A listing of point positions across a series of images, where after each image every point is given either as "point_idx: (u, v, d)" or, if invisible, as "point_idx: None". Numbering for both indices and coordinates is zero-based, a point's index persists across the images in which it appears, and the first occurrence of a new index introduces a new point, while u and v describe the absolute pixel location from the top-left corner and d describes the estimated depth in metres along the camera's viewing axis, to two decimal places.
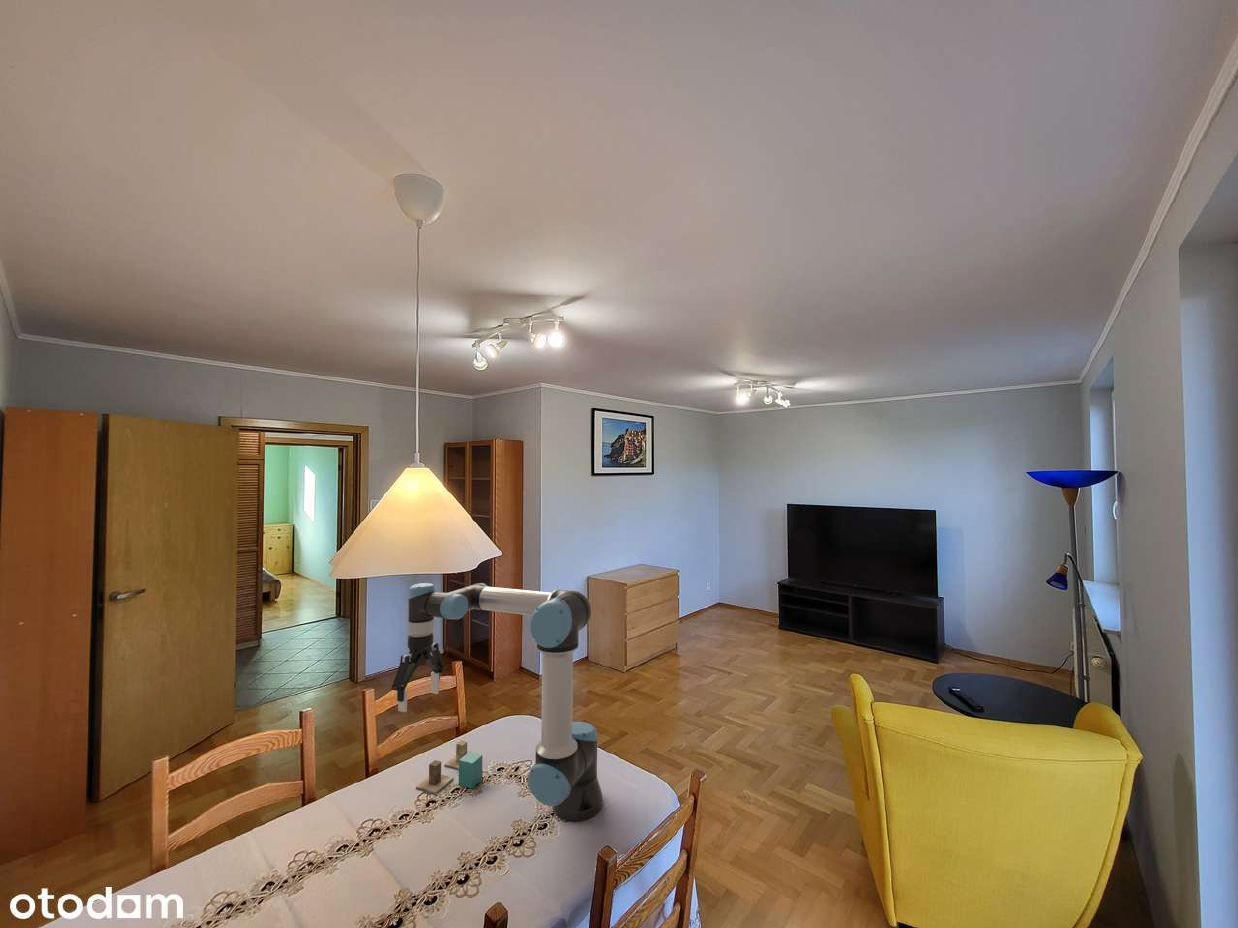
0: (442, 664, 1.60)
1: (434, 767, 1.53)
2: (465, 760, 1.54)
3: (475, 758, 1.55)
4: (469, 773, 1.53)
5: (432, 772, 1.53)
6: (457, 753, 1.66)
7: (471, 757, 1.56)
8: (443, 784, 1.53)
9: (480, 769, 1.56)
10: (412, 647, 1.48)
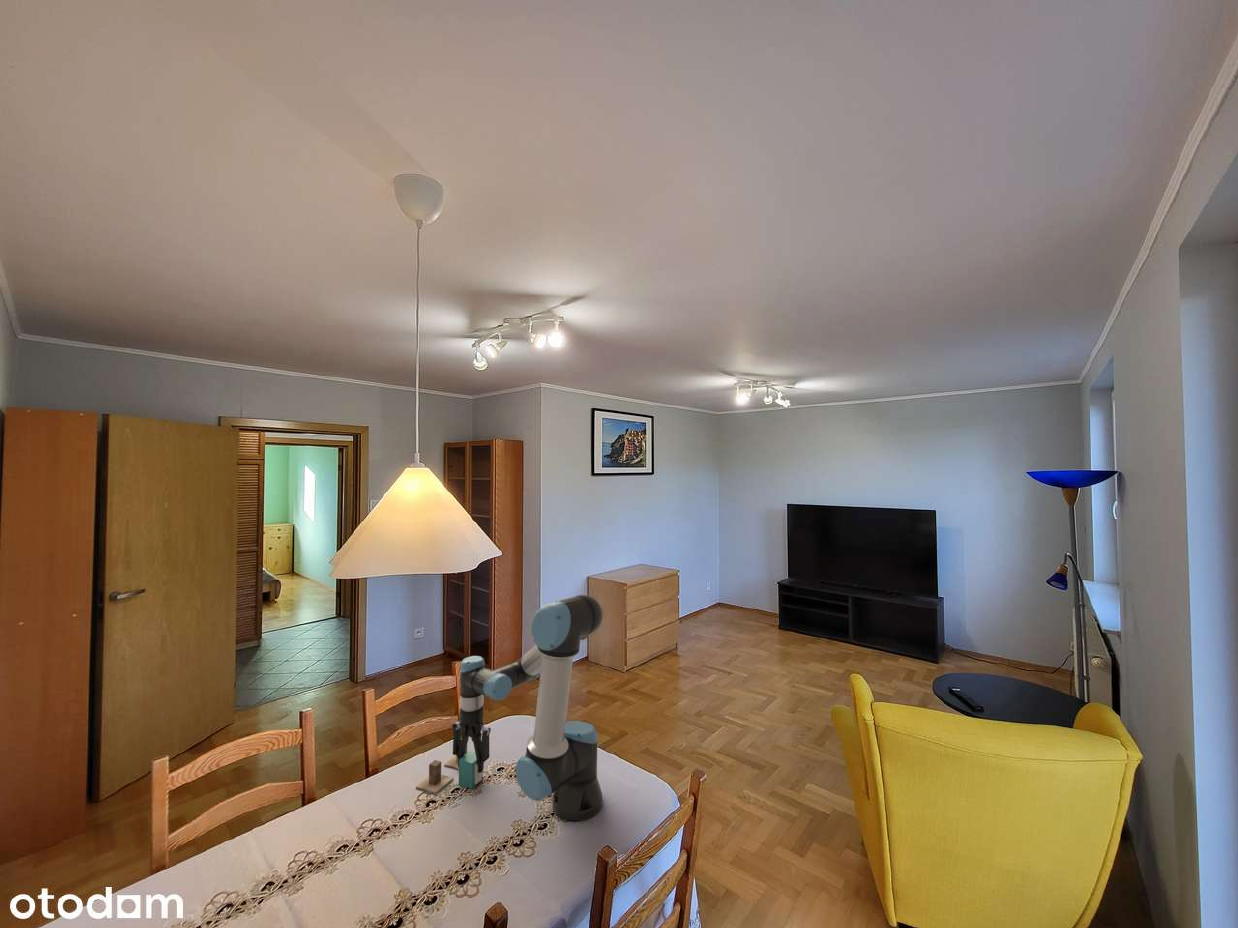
0: (482, 757, 1.53)
1: (434, 767, 1.53)
2: (465, 760, 1.54)
3: (475, 758, 1.55)
4: (469, 773, 1.53)
5: (432, 772, 1.53)
6: None
7: (471, 757, 1.56)
8: (443, 784, 1.53)
9: None
10: None
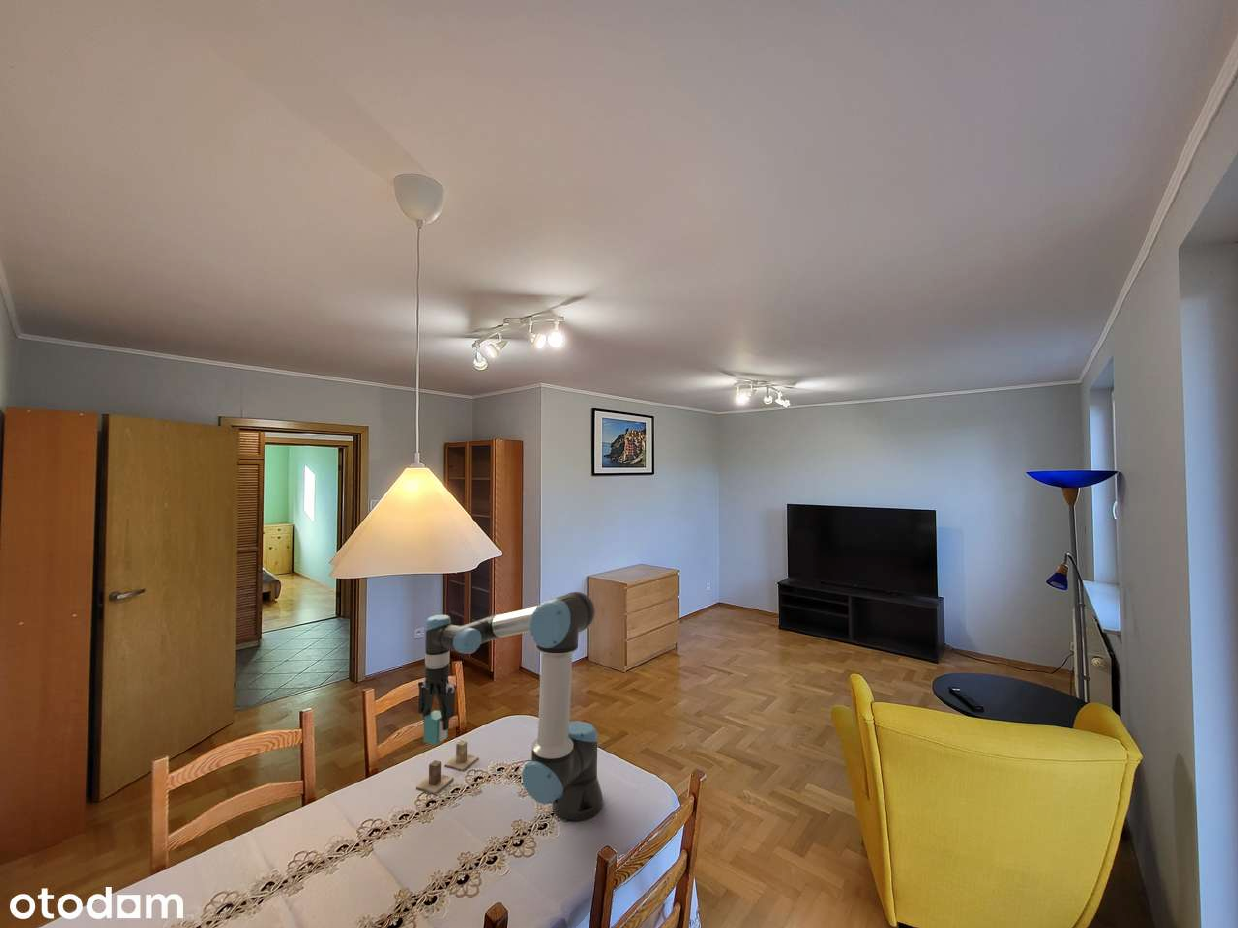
0: (447, 714, 1.52)
1: (434, 767, 1.53)
2: (430, 717, 1.53)
3: (440, 716, 1.55)
4: (434, 730, 1.52)
5: (432, 772, 1.53)
6: (457, 753, 1.66)
7: (436, 715, 1.55)
8: (443, 784, 1.53)
9: None
10: None
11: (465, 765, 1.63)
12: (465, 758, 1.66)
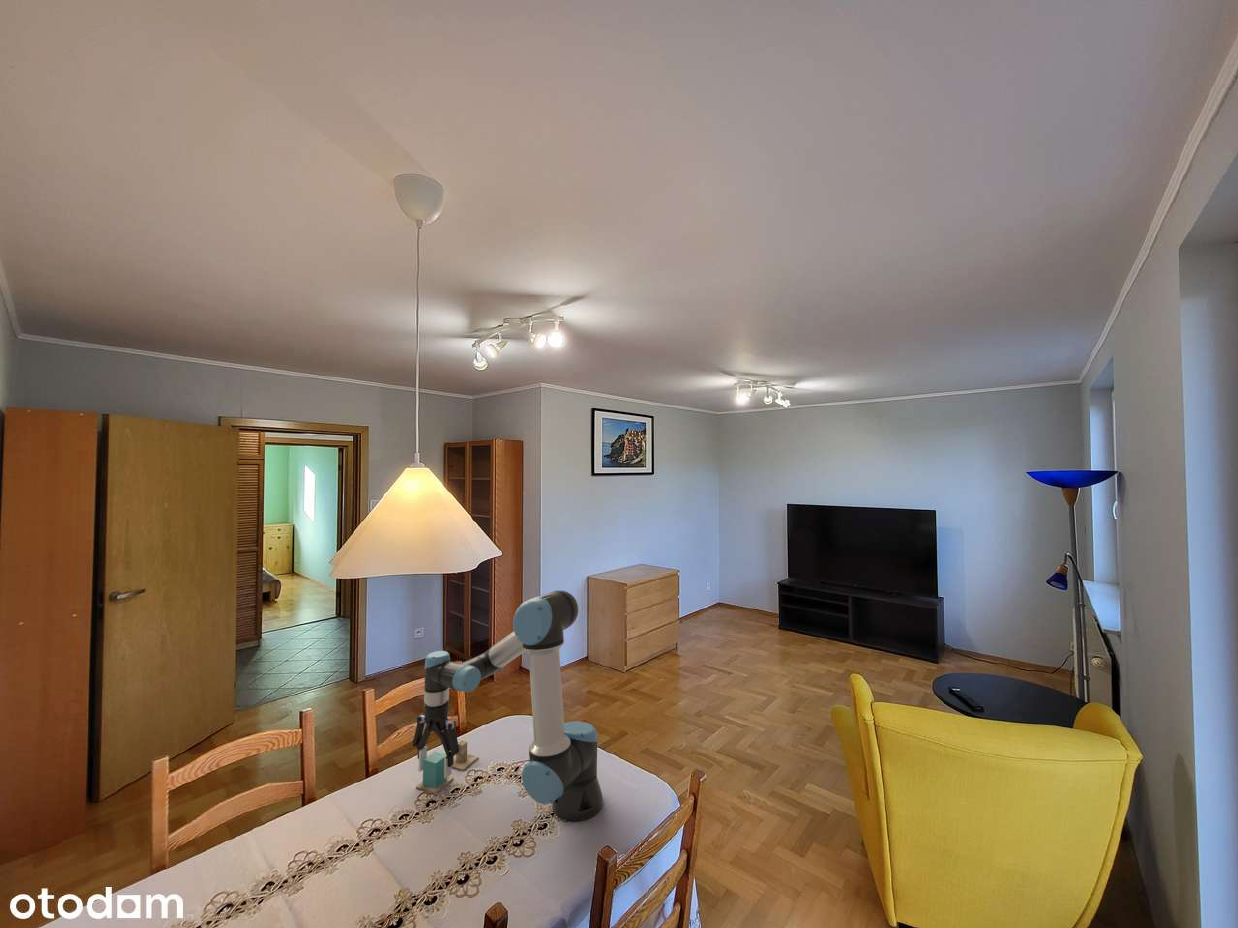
0: (451, 751, 1.51)
1: None
2: (429, 760, 1.53)
3: (440, 758, 1.54)
4: (433, 773, 1.51)
5: None
6: (457, 753, 1.66)
7: (436, 757, 1.55)
8: (443, 784, 1.53)
9: None
10: None
11: (465, 765, 1.63)
12: (465, 758, 1.66)
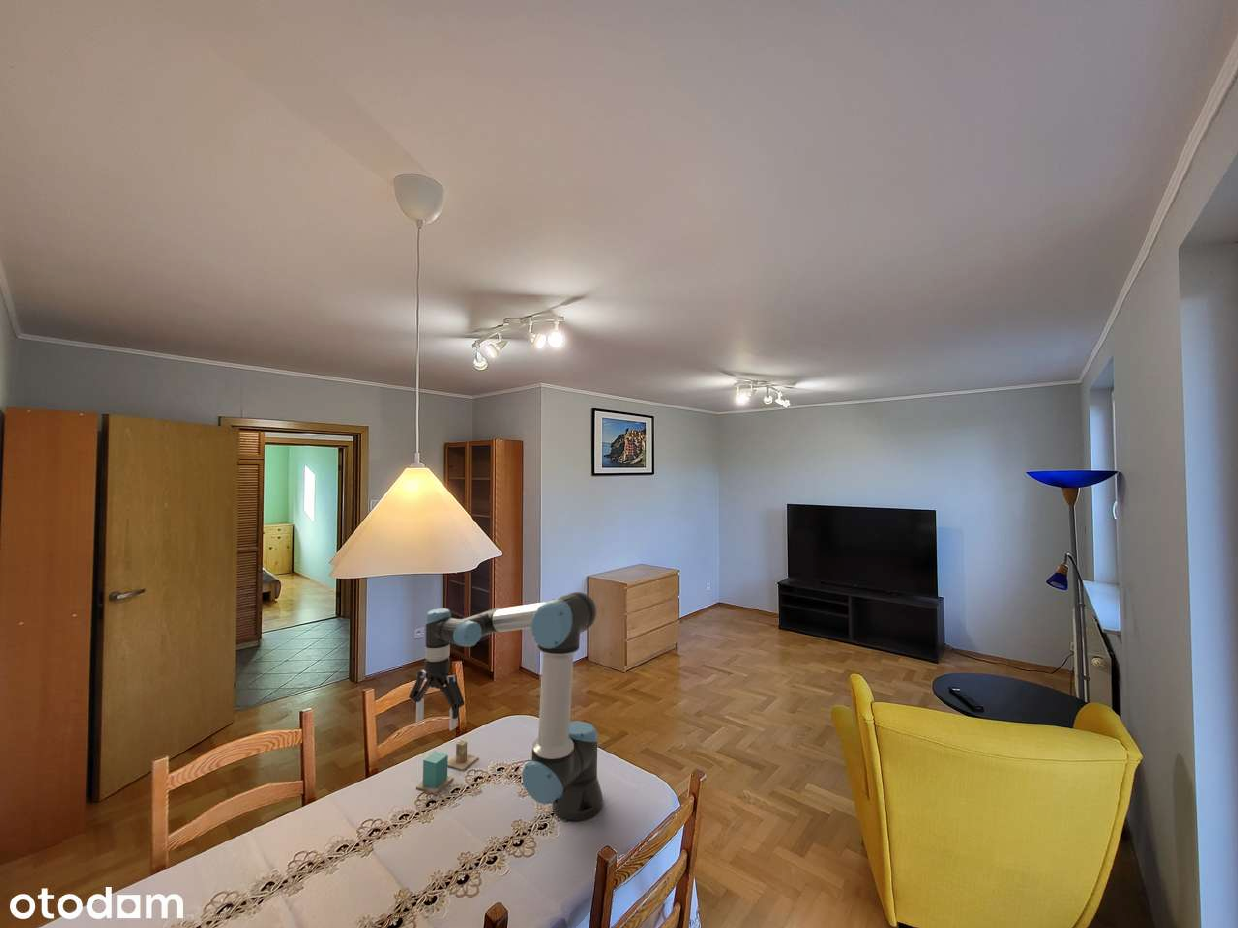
0: (456, 703, 1.51)
1: None
2: (429, 760, 1.53)
3: (440, 758, 1.54)
4: (433, 773, 1.51)
5: None
6: (457, 753, 1.66)
7: (436, 757, 1.55)
8: (443, 784, 1.53)
9: (445, 769, 1.55)
10: None
11: (465, 765, 1.63)
12: (465, 758, 1.66)
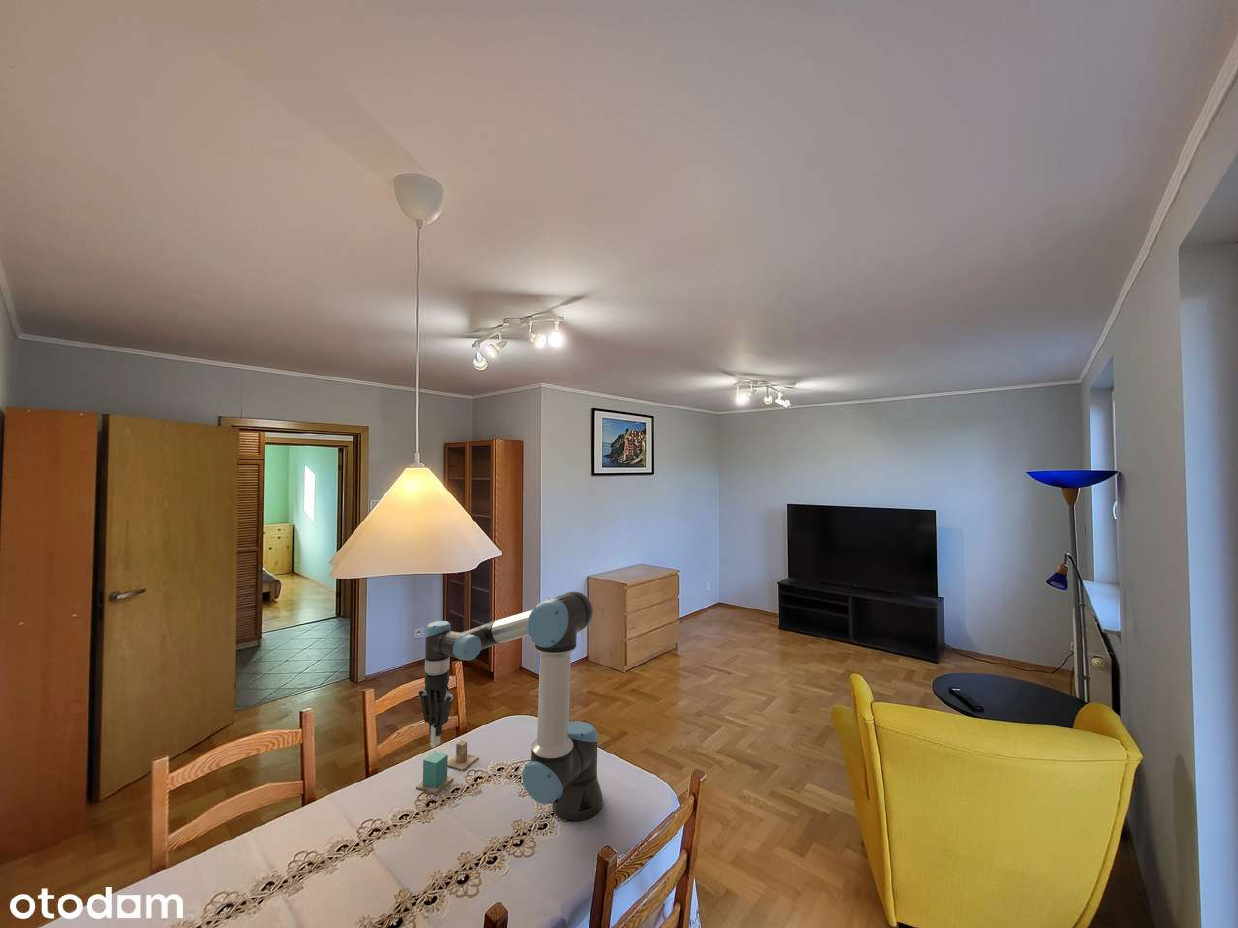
0: (441, 720, 1.53)
1: None
2: (429, 760, 1.53)
3: (440, 758, 1.54)
4: (433, 773, 1.51)
5: None
6: (457, 753, 1.66)
7: (436, 757, 1.55)
8: (443, 784, 1.53)
9: (445, 769, 1.55)
10: None
11: (465, 765, 1.63)
12: (465, 758, 1.66)
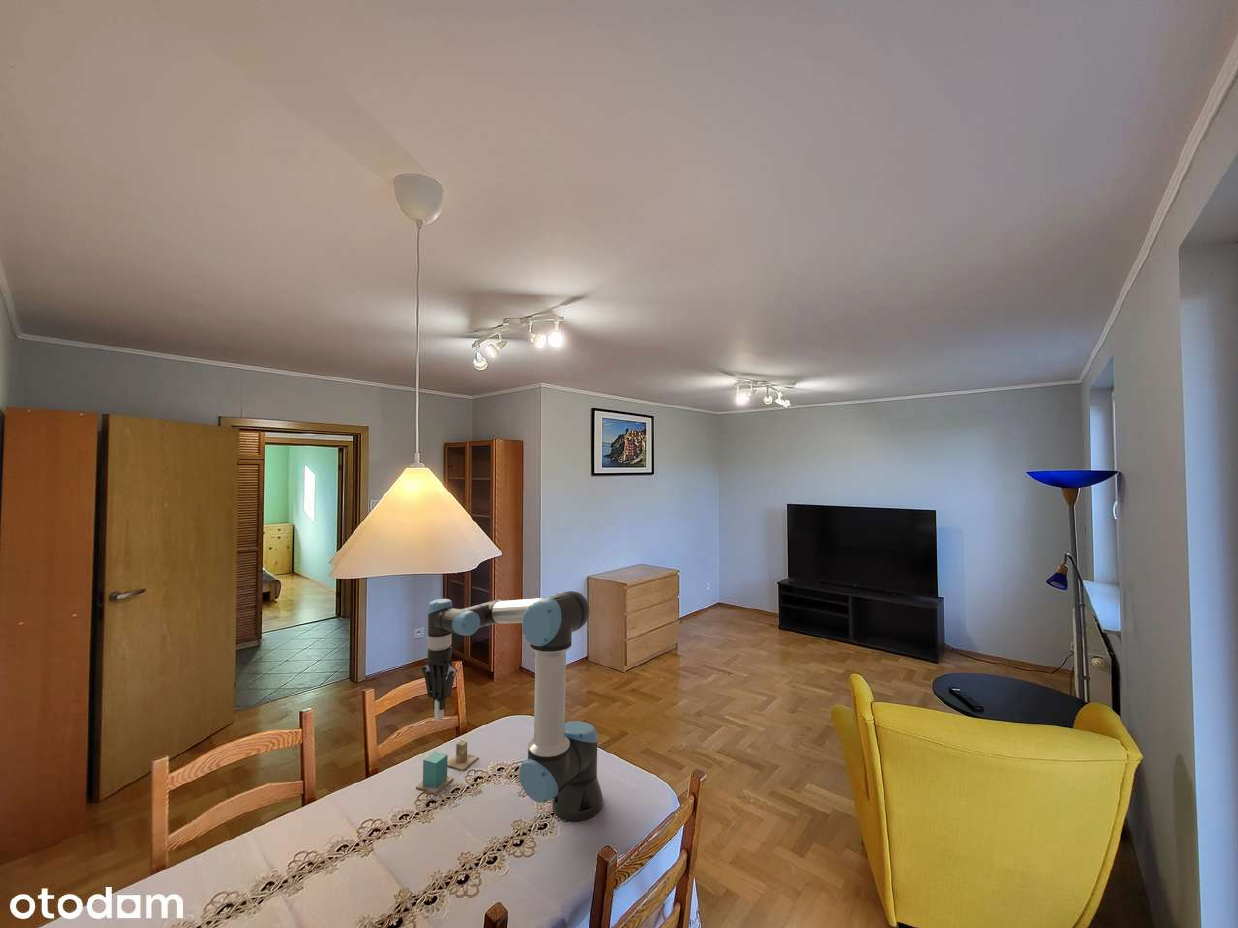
0: (444, 694, 1.58)
1: None
2: (429, 760, 1.53)
3: (440, 758, 1.54)
4: (433, 773, 1.51)
5: None
6: (457, 753, 1.66)
7: (436, 757, 1.55)
8: (443, 784, 1.53)
9: (445, 769, 1.55)
10: None
11: (465, 765, 1.63)
12: (465, 758, 1.66)
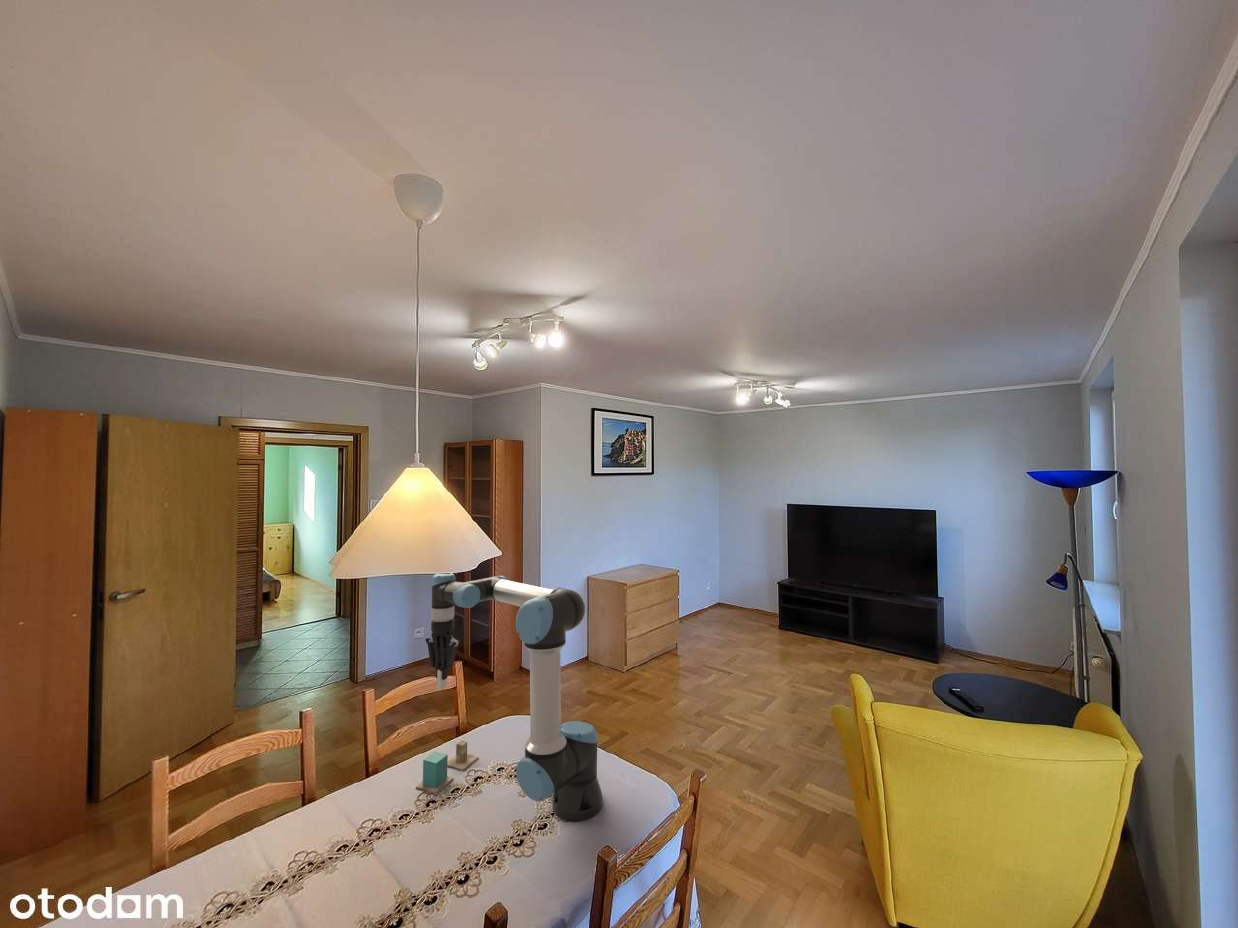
0: (447, 664, 1.63)
1: None
2: (429, 760, 1.53)
3: (440, 758, 1.54)
4: (433, 773, 1.51)
5: None
6: (457, 753, 1.66)
7: (436, 757, 1.55)
8: (443, 784, 1.53)
9: (445, 769, 1.55)
10: None
11: (465, 765, 1.63)
12: (465, 758, 1.66)
